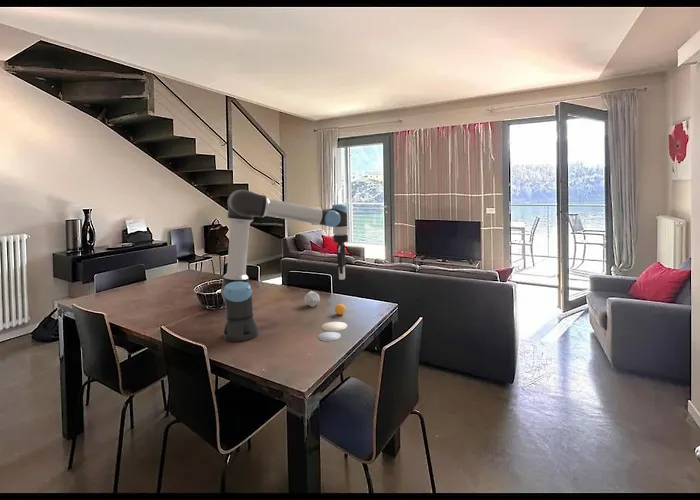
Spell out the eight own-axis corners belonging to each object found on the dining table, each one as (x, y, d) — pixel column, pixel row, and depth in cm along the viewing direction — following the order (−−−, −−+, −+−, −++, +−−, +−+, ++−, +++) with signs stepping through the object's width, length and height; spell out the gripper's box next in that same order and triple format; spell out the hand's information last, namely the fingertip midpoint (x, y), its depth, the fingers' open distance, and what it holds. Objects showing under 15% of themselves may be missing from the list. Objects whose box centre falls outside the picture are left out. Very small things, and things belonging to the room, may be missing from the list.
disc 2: (315, 340, 163) (315, 340, 163) (320, 331, 173) (320, 331, 173) (338, 341, 162) (338, 340, 162) (342, 332, 172) (342, 332, 172)
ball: (334, 316, 193) (333, 305, 193) (335, 312, 199) (335, 302, 198) (344, 316, 193) (344, 305, 192) (346, 312, 198) (346, 302, 197)
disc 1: (319, 331, 174) (319, 330, 174) (324, 321, 186) (324, 321, 186) (345, 331, 172) (345, 331, 172) (348, 322, 184) (348, 321, 184)
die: (323, 307, 211) (321, 290, 215) (314, 303, 204) (313, 286, 209) (311, 310, 214) (309, 294, 219) (302, 307, 207) (300, 290, 212)
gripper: (345, 236, 190) (347, 282, 194) (349, 232, 205) (351, 275, 209) (330, 236, 192) (332, 282, 195) (335, 232, 206) (337, 275, 210)
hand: (342, 278), depth 202 cm, fingers open, 2 cm apart
